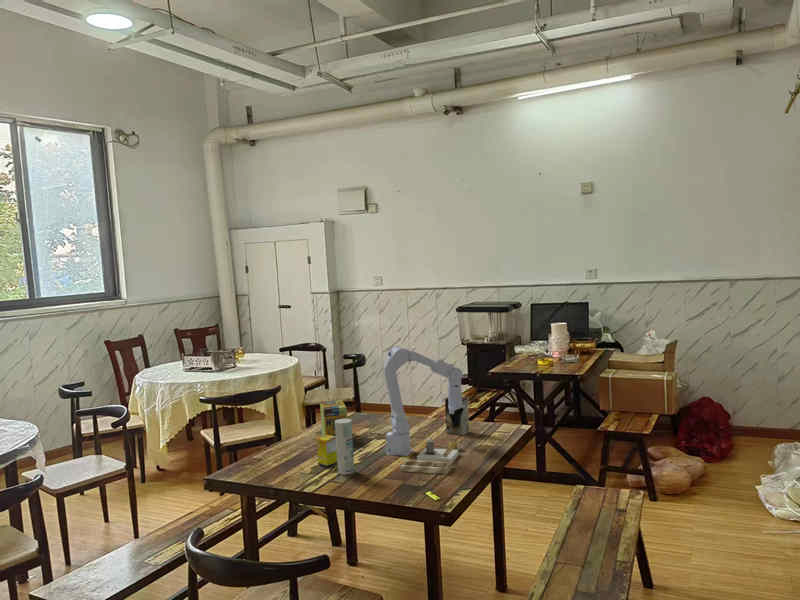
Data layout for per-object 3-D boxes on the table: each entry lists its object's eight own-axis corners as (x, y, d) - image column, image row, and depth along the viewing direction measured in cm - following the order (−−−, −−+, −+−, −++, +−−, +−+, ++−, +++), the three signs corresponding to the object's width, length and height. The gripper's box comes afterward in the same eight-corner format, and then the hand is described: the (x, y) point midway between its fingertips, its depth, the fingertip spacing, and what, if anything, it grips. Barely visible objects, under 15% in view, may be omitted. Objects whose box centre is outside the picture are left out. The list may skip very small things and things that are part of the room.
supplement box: (329, 460, 251) (327, 434, 250) (338, 463, 247) (337, 436, 246) (317, 464, 247) (316, 437, 246) (327, 467, 243) (325, 440, 242)
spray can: (348, 475, 232) (345, 423, 231) (334, 473, 236) (331, 422, 234) (358, 470, 238) (354, 419, 237) (344, 468, 241) (341, 417, 240)
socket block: (417, 463, 242) (416, 456, 242) (425, 454, 253) (424, 448, 253) (451, 465, 238) (451, 458, 238) (458, 455, 248) (458, 449, 248)
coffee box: (445, 433, 280) (443, 398, 279) (452, 429, 286) (450, 395, 284) (463, 435, 275) (461, 400, 274) (469, 431, 281) (468, 397, 280)
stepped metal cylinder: (425, 458, 245) (424, 440, 245) (428, 456, 248) (427, 438, 248) (433, 459, 244) (432, 440, 244) (435, 456, 247) (434, 438, 247)
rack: (400, 472, 233) (400, 465, 233) (406, 465, 240) (406, 459, 239) (446, 475, 227) (446, 468, 227) (451, 468, 234) (451, 462, 234)
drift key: (442, 457, 246) (442, 448, 246) (449, 449, 256) (449, 440, 256) (451, 458, 245) (451, 449, 244) (458, 449, 255) (457, 440, 255)
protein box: (325, 443, 275) (323, 409, 273) (321, 434, 290) (319, 401, 288) (348, 440, 277) (346, 406, 276) (343, 431, 292) (341, 399, 291)
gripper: (460, 399, 251) (461, 431, 252) (468, 391, 265) (469, 422, 266) (443, 398, 254) (445, 431, 255) (452, 390, 267) (453, 421, 268)
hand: (456, 426), depth 260 cm, fingers closed
